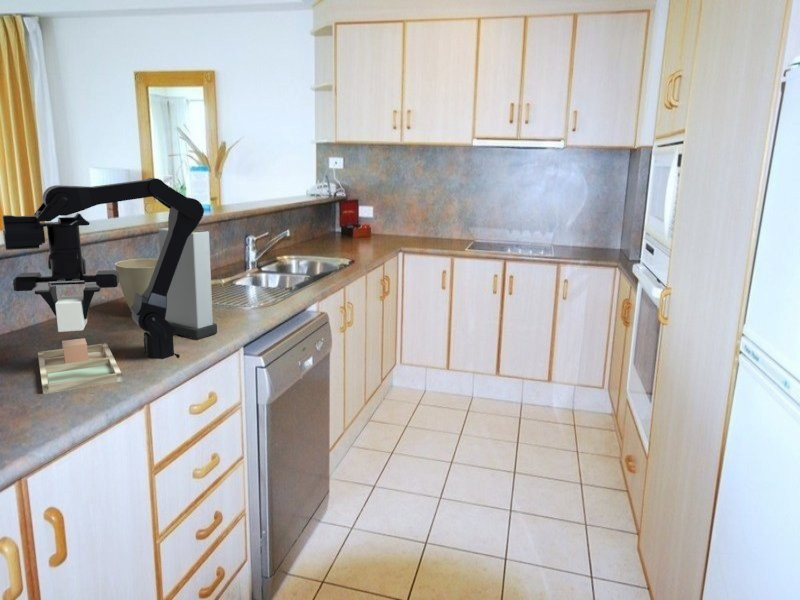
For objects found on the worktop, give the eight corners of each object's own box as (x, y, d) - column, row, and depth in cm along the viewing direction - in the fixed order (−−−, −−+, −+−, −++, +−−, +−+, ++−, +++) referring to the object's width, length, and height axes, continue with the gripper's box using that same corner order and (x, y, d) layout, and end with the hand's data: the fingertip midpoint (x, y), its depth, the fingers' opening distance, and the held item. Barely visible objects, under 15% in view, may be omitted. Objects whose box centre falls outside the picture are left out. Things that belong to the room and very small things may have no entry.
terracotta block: (88, 362, 125) (86, 343, 124) (65, 366, 123) (63, 346, 122) (86, 356, 129) (84, 338, 128) (63, 359, 126) (61, 340, 125)
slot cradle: (122, 385, 116) (121, 374, 116) (43, 398, 108) (42, 386, 108) (107, 353, 135) (106, 343, 134) (38, 362, 127) (37, 351, 126)
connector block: (87, 321, 124) (84, 295, 122) (82, 330, 117) (80, 302, 116) (64, 322, 122) (61, 296, 121) (58, 331, 116) (55, 303, 114)
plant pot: (107, 317, 163) (102, 264, 160) (144, 306, 177) (140, 257, 173) (149, 323, 159) (145, 269, 155) (183, 311, 173) (181, 261, 169)
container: (182, 333, 160) (164, 228, 155) (229, 333, 151) (211, 222, 146) (161, 339, 153) (141, 230, 149) (208, 340, 144) (188, 224, 140)
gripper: (118, 241, 126) (123, 307, 130) (21, 242, 120) (30, 312, 123) (113, 248, 116) (119, 320, 120) (8, 250, 109) (17, 326, 113)
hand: (72, 319), depth 119 cm, fingers closed on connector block, 4 cm apart
